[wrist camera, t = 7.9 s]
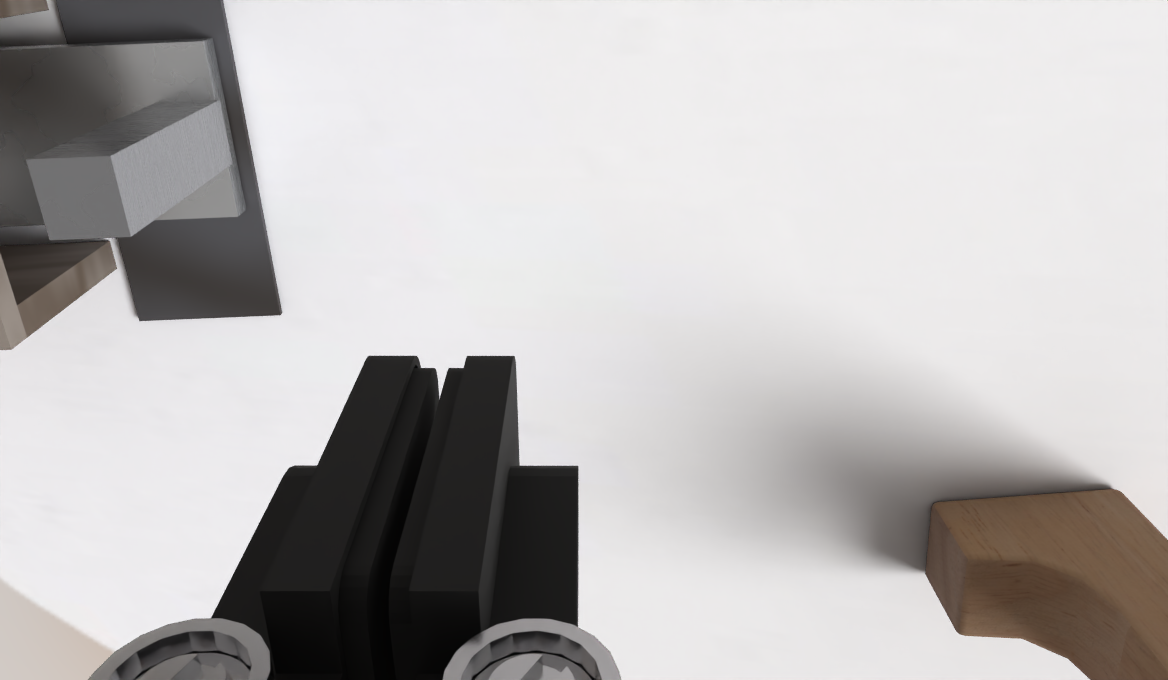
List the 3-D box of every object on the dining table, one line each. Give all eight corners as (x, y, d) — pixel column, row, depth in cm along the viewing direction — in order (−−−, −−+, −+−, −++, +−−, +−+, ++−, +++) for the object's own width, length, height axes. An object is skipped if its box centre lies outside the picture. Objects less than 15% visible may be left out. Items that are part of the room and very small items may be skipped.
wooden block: (921, 574, 46) (1119, 940, 29) (928, 499, 44) (1143, 843, 27) (1104, 561, 46) (1405, 921, 29) (1119, 484, 44) (1449, 823, 27)
